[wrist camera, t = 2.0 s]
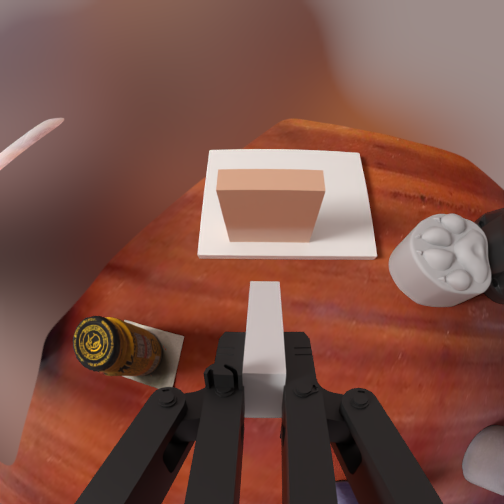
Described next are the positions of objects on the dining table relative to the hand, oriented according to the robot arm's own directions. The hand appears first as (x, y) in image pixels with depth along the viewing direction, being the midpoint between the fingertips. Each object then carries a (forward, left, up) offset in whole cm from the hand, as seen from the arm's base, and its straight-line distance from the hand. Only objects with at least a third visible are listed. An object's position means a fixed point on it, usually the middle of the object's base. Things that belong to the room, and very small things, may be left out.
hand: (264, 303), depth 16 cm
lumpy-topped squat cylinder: (-23, -8, -21) cm, 32 cm away
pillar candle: (-33, +21, -21) cm, 45 cm away
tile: (0, -13, -19) cm, 23 cm away
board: (-3, -18, -20) cm, 28 cm away
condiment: (+15, +3, -21) cm, 26 cm away
